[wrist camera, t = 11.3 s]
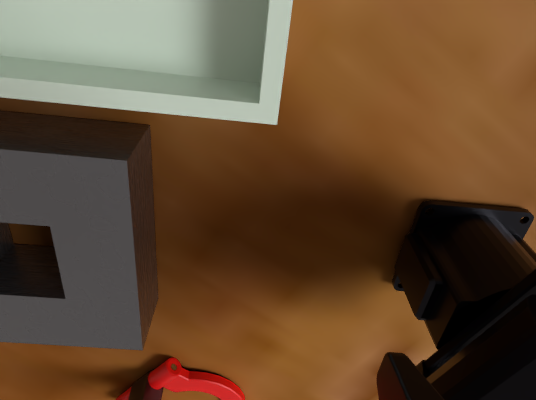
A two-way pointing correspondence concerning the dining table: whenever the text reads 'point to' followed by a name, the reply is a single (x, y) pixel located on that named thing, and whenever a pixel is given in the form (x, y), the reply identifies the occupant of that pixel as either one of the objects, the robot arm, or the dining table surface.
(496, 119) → the dining table surface
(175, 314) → the dining table surface
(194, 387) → the tow hook
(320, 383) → the dining table surface
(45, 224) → the hitch block
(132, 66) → the tray
